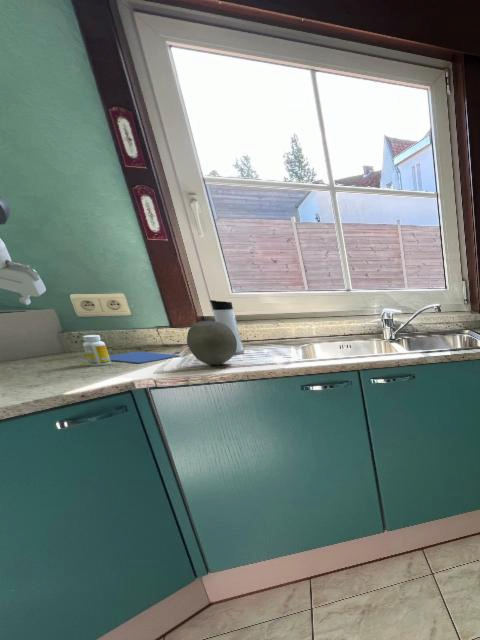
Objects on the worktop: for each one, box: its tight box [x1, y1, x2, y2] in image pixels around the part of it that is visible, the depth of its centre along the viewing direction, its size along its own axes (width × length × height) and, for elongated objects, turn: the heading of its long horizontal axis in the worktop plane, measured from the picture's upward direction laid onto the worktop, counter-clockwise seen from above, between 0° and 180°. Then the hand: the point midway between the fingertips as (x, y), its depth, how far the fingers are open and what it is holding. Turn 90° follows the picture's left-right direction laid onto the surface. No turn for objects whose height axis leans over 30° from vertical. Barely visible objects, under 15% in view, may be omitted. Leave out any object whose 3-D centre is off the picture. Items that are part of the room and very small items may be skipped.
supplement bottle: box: [82, 334, 112, 367], centre depth 165 cm, size 5×5×10 cm
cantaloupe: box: [186, 320, 237, 366], centre depth 168 cm, size 14×14×15 cm
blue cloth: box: [109, 351, 181, 365], centre depth 177 cm, size 20×14×1 cm
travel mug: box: [209, 299, 244, 356], centre depth 185 cm, size 6×7×20 cm
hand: (5, 298), depth 144 cm, fingers open, 8 cm apart
